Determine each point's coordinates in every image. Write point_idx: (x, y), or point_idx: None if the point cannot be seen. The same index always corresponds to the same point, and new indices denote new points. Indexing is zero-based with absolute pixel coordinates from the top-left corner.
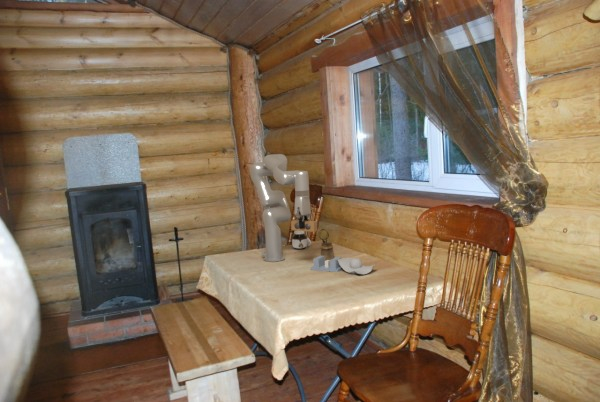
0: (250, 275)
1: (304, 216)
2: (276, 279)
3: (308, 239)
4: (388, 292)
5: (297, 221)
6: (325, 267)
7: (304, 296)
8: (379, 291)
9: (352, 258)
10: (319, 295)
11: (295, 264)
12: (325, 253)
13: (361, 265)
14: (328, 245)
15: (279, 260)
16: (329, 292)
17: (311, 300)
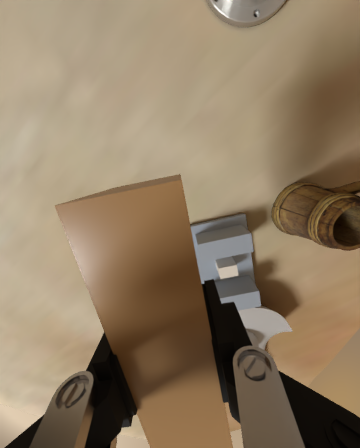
0: (19, 91)
1: (263, 432)
2: (52, 207)
3: None
4: (137, 432)
5: (101, 320)
6: (212, 263)
7: (15, 344)
8: (132, 421)
9: (282, 320)
10: (41, 361)
11: (220, 130)
12: (296, 225)
13: None
14: (329, 244)
15: (230, 22)
16: (69, 365)
17: (10, 366)
